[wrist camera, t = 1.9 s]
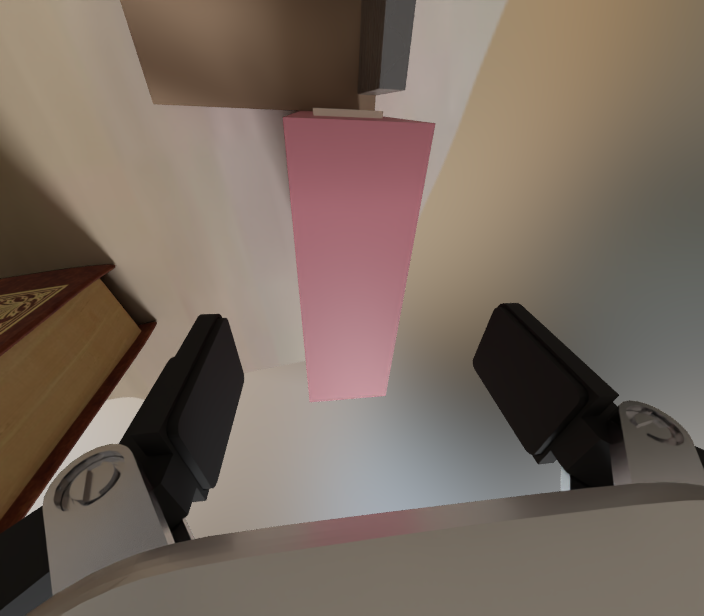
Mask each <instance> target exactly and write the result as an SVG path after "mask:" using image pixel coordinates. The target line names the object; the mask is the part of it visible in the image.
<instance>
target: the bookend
mask: <svg viewBox="0 0 704 616" xmlns="http://www.w3.org/2000/svg"><path fill="white" fill-rule="evenodd" d="M415 4H416V0H361V23H360V48H359V74H358V94H359V95H380V94H386V93H392V92H397V91H403V90H405V87H406V79H407V70H408V62H409V54H410V45H411V37H412V29H413V20H414V12H415Z"/></svg>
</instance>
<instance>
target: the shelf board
mask: <svg viewBox="0 0 704 616" xmlns="http://www.w3.org/2000/svg"><path fill="white" fill-rule="evenodd" d="M120 2H121V5H122V8H123V11H124V14H125V17H126V20H127V23H128V26H129V30H130V33H131V36H132V39H133V42H134V45H135V48H136V51H137V55H138V58H139V61H140V64H141V67H142V70H143V73H144V76H145V79H146V83H147V86H148V89H149V92H150V95H151V98H152V101H153V104H162V105H184V106H207V107H229V108H251V109H274V110H296V111H313V108H328V109H350V110H368V111H375V97H376V95H359V94H358V74H359V48H360V23H361V0H120Z"/></svg>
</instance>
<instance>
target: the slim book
mask: <svg viewBox="0 0 704 616" xmlns="http://www.w3.org/2000/svg"><path fill="white" fill-rule="evenodd" d="M283 126H284V136H285V147H286V157H287V168H288V178H289V189H290V200H291V210H292V221H293V231H294V242H295V252H296V263H297V273H298V284H299V294H300V305H301V315H302V326H303V337H304V347H305V358H306V368H307V378H308V389H309V399H310V402H317V401H329V400H342V399H354V398H365V397H378V396H385V395H386V390H387V385H388V379H389V374H390V368H391V363H392V357H393V352H394V347H395V341H396V335H397V330H398V325H399V319H400V314H401V308H402V302H403V297H404V292H405V287H406V281H407V276H408V270H409V265H410V259H411V254H412V248H413V243H414V237H415V232H416V226H417V221H418V216H419V210H420V205H421V199H422V194H423V188H424V183H425V177H426V172H427V166H428V161H429V155H430V150H431V144H432V139H433V134H434V128H435V123H428V122H421V121H413V120H405V119H398V118H390V117H383V111H368V110H350V109H328V108H313V111H298V112H296V113H293V114H290V115H287V116H285V117H283Z"/></svg>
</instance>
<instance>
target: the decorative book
mask: <svg viewBox="0 0 704 616" xmlns="http://www.w3.org/2000/svg"><path fill="white" fill-rule="evenodd" d="M114 268H115V265H112V264H107V265H95V266H85V267H76V268H68V269H61V270H55V271H48V272H41V273H35V274H29V275H22V276H16V277H9V278H3V279H0V534H1V533H2V532H4V531H5V530H7V529H8V528H10V527H11V526H13V525H14V524H16V523H17V522H19V521H20V520H22V519H23V518H24V517H25V516H26V514H27V513H28V511H29V510H30V509H31V507H32V506H33V504H34V503H35V501H36V500H37V498H38V497H39V496H40V494H41V493H42V491H43V490H44V489H45V487H46V485H47V484H48V483H49V481H50V480H51V478H52V477H53V476H54V474H55V473H56V471H57V470H58V468H59V466H61V464H62V463H63V461H64V460H65V458H66V457H67V455H68V454H69V453H70V451H71V450H72V448H73V447H74V445H75V444H76V443H77V441H78V440H79V438H80V437H81V435H82V434H83V433H84V431H85V430H86V428H87V427H88V425H89V424H90V423H91V421H92V420H93V418H94V417H95V415H96V414H97V412H98V411H99V410H100V408H101V407H102V405H103V404H104V402H105V401H106V400H107V398H108V397H109V395H110V394H111V392H112V391H113V390H114V388H115V387H116V385H117V384H118V382H119V381H120V380H121V378H122V377H123V375H124V374H125V372H126V371H127V369H128V368H129V367H130V365H131V364H132V362H133V361H134V359H135V358H136V357H137V355H138V354H139V352H140V351H141V349H142V348H143V346H144V345H145V343H146V341H147V340H148V338H149V337H150V335H151V333H152V331H153V330H154V328H155V326H156V324H157V322H150V323H146V324H142V325H136V323H135V322H134V321H133V319H132V318H131V317H130V316H129V314H128V313H127V312H126V311H125V309H124V308H123V307H122V306H121V304H120V303H119V302H118V301H117V299H116V298H115V297H114V296H113V294H112V293H111V292H110V291H109V289H108V288H107V287H106V286H105V284H104V283H103V282H102V281H101V279H100V277H102V276H103V275H105V274H106V273H108V272H109V271H111V270H113V269H114Z"/></svg>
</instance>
